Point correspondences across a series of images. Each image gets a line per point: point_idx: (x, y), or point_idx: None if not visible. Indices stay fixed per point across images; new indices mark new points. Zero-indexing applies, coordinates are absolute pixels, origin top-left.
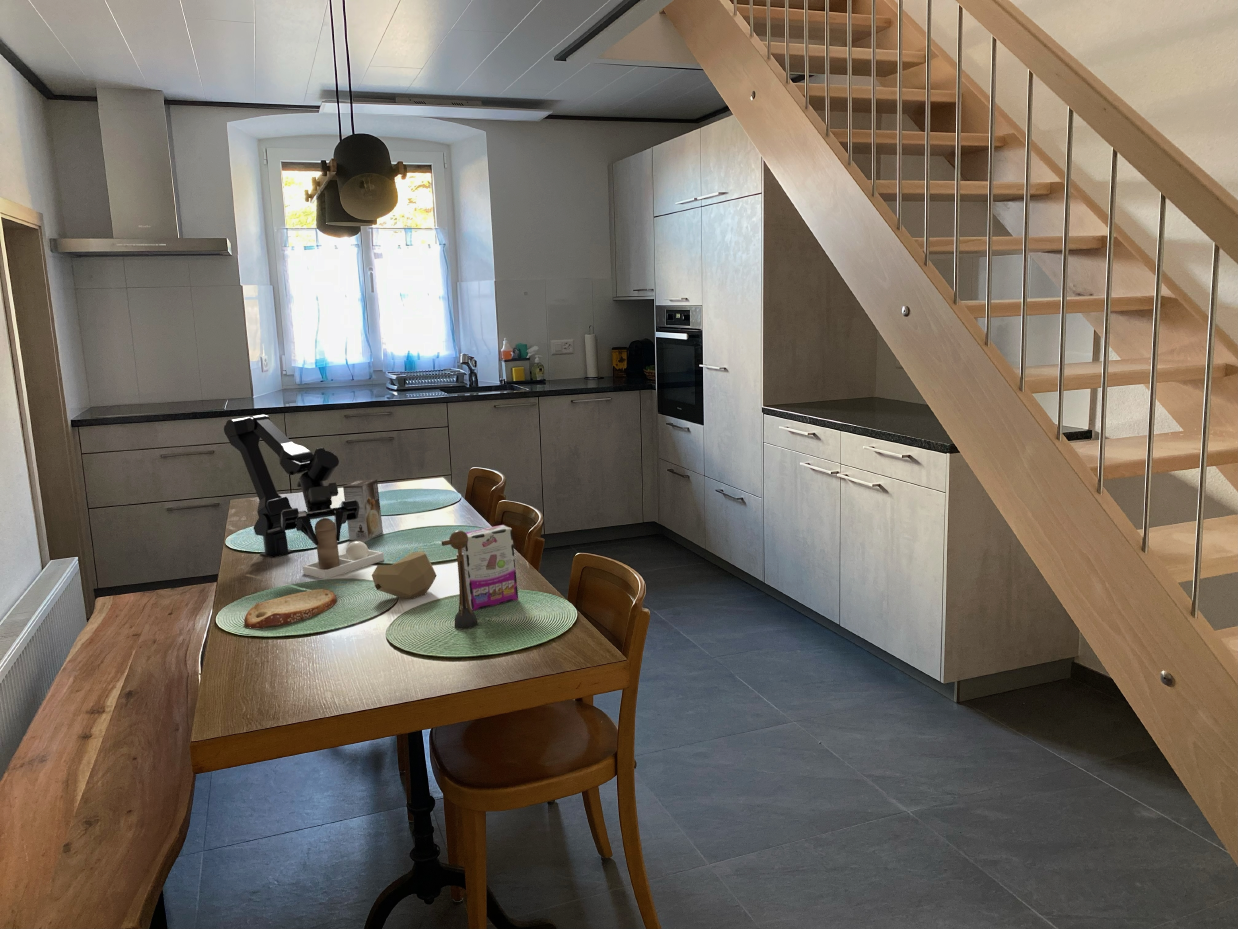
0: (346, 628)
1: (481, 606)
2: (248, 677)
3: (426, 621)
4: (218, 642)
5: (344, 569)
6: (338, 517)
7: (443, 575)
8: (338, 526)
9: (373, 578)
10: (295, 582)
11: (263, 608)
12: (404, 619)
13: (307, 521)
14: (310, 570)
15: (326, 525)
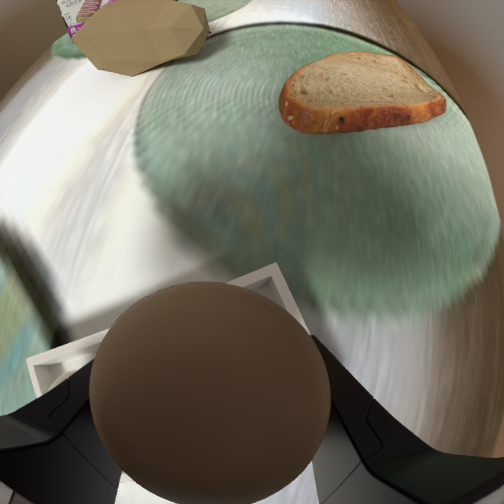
0: (289, 21)
1: None
2: (386, 14)
3: None
4: (449, 80)
5: None
6: (17, 432)
7: (39, 138)
8: (80, 384)
9: (205, 26)
10: (370, 332)
11: (425, 95)
12: (211, 15)
13: (421, 472)
14: None
15: (205, 283)
